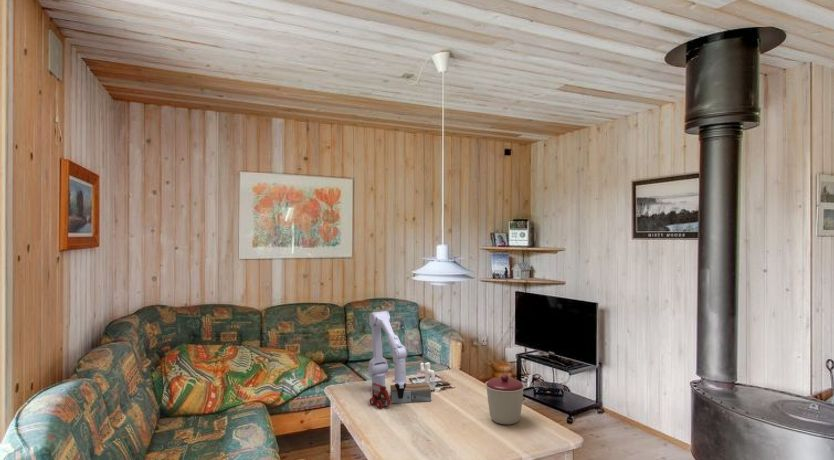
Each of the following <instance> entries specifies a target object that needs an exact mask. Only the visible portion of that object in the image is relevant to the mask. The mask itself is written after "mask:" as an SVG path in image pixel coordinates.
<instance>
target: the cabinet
mask: <svg viewBox="0 0 834 460" xmlns="http://www.w3.org/2000/svg"><path fill="white" fill-rule="evenodd" d="M389 386H390V387H389V390H390V395H389V396H390V400H391V402H392V392H396V391H397V389H396V387H395V384H390V385H389ZM404 391H411V402H410V403H421V402H431V401H432V391H431V390H430V387H429V385H428V383H422V382H415V383H406V387H405V389H404Z"/></svg>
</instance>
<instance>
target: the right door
mask: <svg viewBox="0 0 834 460" xmlns="http://www.w3.org/2000/svg"><path fill="white" fill-rule="evenodd" d="M399 403H400V404H401V403H412V402H411V391H404V394H403V399H399V398H398V393H397V391H396V392H392V401H391V404H399Z"/></svg>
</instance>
